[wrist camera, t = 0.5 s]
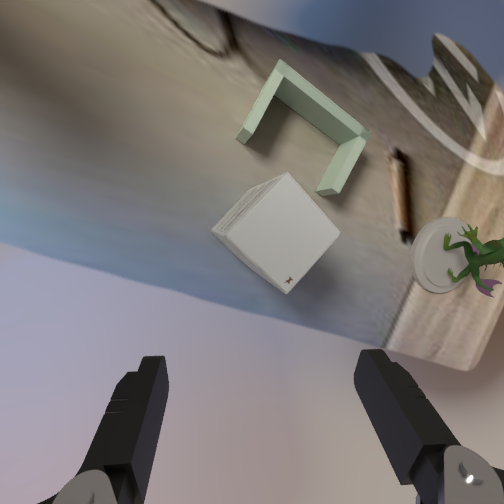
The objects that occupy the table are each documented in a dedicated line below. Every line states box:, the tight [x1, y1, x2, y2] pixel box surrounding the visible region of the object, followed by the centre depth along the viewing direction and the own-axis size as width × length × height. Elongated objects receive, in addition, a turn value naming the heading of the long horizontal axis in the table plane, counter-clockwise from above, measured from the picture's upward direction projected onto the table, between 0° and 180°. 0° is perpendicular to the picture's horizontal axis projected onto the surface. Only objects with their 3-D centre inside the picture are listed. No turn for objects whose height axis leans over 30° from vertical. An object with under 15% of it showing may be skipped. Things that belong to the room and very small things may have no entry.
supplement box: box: [211, 172, 341, 294], centre depth 27 cm, size 7×7×13 cm
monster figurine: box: [410, 217, 504, 297], centre depth 37 cm, size 12×12×10 cm
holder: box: [236, 59, 371, 196], centre depth 31 cm, size 8×13×4 cm, turn 61°
